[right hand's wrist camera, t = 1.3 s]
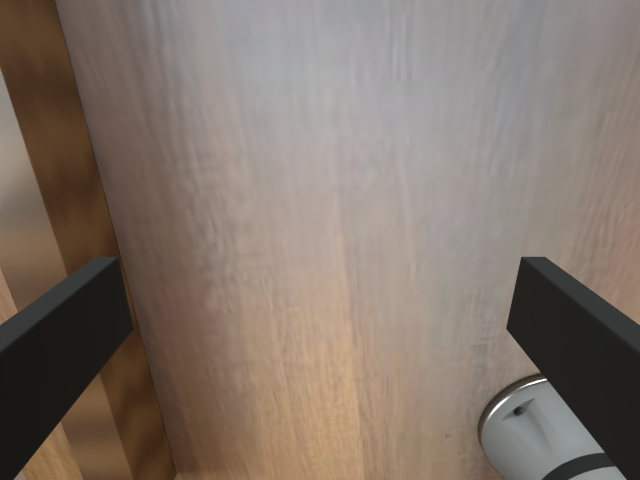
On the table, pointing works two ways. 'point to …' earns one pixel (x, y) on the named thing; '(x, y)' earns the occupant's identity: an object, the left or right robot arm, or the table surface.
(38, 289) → the post
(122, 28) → the table surface
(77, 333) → the right robot arm
